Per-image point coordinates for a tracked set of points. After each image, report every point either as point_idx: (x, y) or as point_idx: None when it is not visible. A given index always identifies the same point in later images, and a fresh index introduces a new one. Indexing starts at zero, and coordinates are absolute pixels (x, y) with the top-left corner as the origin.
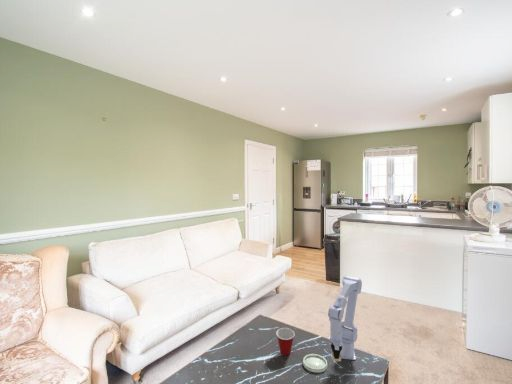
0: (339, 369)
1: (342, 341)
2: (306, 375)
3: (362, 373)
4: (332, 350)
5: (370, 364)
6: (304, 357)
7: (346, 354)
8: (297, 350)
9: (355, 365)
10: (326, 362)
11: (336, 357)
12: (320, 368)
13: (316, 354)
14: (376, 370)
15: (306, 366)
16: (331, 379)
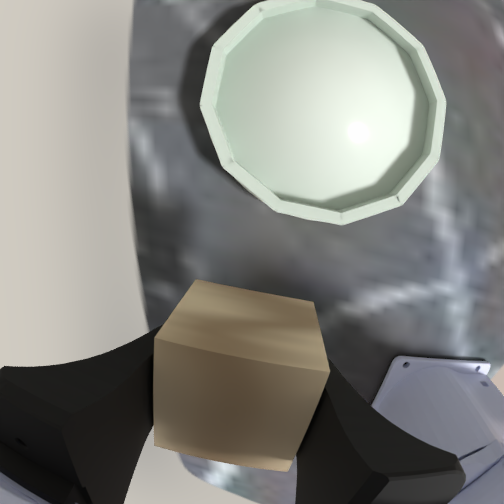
0: None
1: (460, 457)
2: (174, 19)
3: None
4: (202, 360)
5: None
6: (382, 13)
7: (392, 411)
8: (487, 23)
9: None
10: (314, 214)
11: None
12: (213, 130)
13: (439, 141)
14: (255, 487)
15: (253, 9)
16: (132, 216)
